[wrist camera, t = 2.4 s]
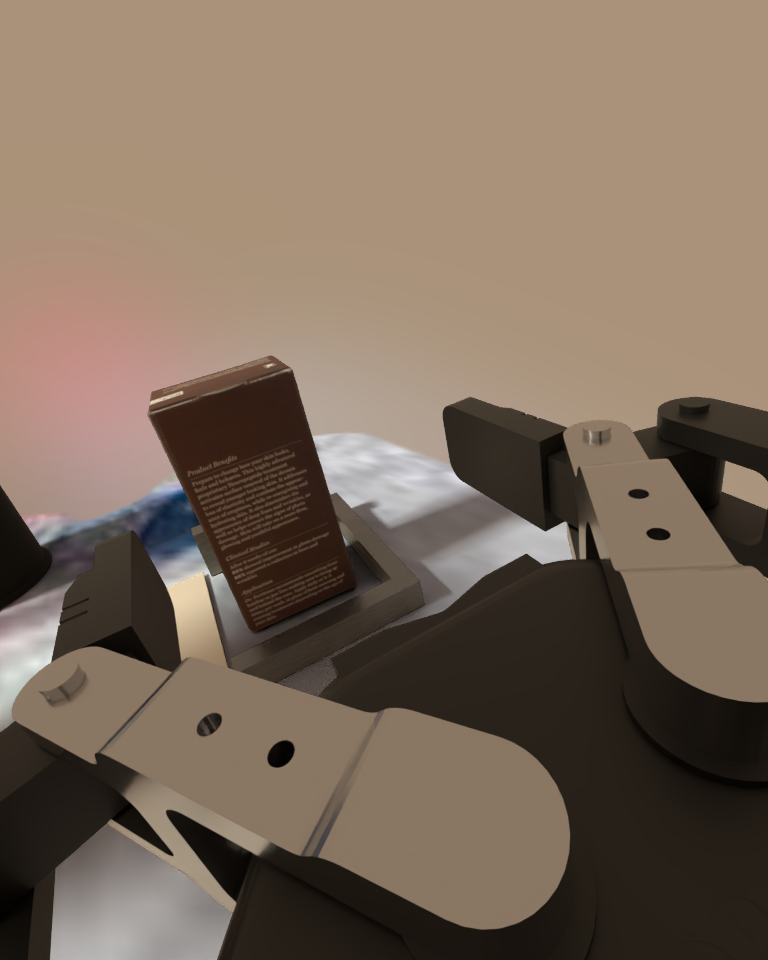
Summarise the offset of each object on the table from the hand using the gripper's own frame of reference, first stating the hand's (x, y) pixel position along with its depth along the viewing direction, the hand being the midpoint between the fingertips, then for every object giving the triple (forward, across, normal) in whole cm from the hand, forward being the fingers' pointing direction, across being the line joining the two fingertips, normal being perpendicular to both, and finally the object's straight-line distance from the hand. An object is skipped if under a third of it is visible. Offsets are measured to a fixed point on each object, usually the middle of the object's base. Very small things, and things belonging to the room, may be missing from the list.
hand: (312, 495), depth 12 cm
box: (+12, 0, +11) cm, 16 cm away
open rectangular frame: (+12, 0, +11) cm, 16 cm away
